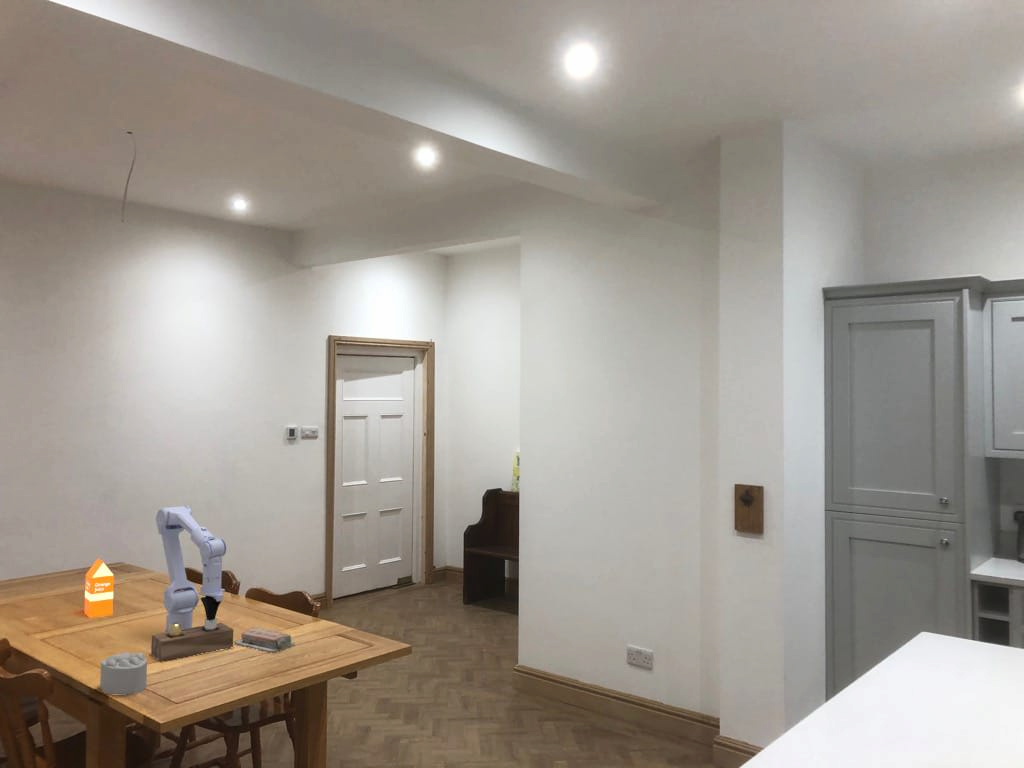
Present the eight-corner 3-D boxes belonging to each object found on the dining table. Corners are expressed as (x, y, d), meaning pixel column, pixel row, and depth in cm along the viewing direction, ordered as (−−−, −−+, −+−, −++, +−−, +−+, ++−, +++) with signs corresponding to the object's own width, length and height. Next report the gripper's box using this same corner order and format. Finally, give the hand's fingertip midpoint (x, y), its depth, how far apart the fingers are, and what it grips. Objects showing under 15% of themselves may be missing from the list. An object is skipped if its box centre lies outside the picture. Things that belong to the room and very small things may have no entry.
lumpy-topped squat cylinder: (134, 677, 220) (135, 647, 220) (154, 688, 212) (155, 657, 212) (95, 687, 212) (96, 655, 212) (115, 699, 204) (116, 666, 204)
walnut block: (151, 654, 241) (151, 634, 241) (220, 640, 256) (221, 622, 256) (161, 662, 233) (162, 642, 234) (232, 648, 248) (233, 629, 248)
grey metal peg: (202, 637, 248) (203, 619, 249) (213, 635, 251) (214, 617, 251) (206, 639, 246) (207, 621, 246) (217, 637, 248) (218, 619, 248)
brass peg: (167, 642, 241) (167, 623, 241) (179, 640, 243) (179, 621, 244) (171, 645, 238) (171, 626, 239) (183, 642, 241) (183, 624, 241)
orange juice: (89, 618, 280) (91, 563, 281) (83, 613, 287) (85, 559, 287) (113, 614, 285) (115, 560, 286) (106, 609, 292) (108, 556, 293)
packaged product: (296, 632, 252) (273, 639, 244) (296, 646, 252) (273, 655, 243) (257, 623, 261) (233, 631, 252) (256, 638, 261) (233, 645, 252)
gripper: (233, 579, 246) (232, 622, 246) (215, 571, 257) (214, 612, 256) (211, 582, 242) (209, 625, 241) (194, 574, 252) (193, 616, 252)
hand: (210, 619), depth 248 cm, fingers closed, pressing on grey metal peg
